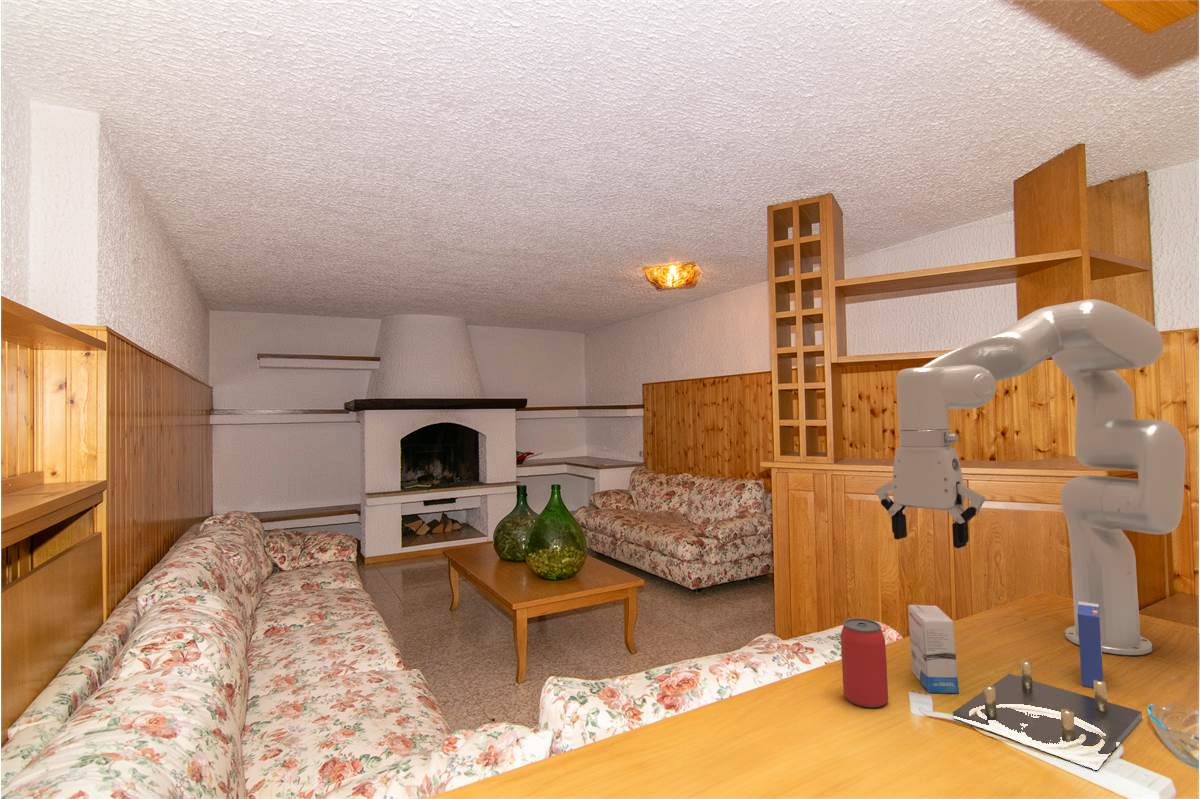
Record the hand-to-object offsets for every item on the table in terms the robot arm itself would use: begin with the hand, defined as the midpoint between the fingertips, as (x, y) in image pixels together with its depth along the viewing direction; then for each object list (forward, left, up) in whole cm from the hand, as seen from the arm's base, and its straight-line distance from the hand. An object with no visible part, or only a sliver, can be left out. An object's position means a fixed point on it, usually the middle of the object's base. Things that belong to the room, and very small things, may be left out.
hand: (929, 542), depth 101 cm
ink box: (0, -1, -24) cm, 24 cm away
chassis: (0, +15, -24) cm, 28 cm away
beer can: (+14, -5, -24) cm, 28 cm away
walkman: (-20, +15, -24) cm, 35 cm away
